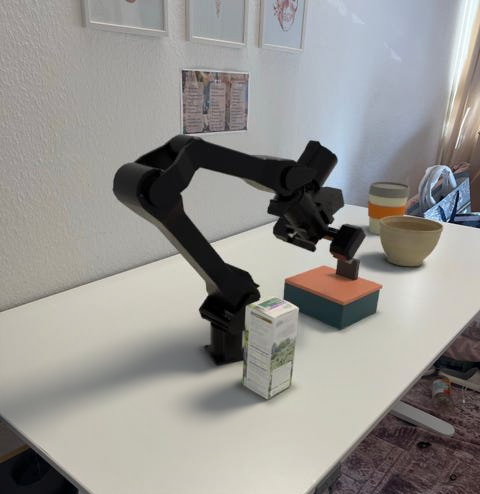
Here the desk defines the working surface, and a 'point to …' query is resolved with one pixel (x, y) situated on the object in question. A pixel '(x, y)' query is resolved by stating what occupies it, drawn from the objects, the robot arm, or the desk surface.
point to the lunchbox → (331, 307)
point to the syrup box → (269, 345)
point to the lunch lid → (335, 282)
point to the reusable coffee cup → (386, 202)
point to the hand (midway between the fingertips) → (332, 255)
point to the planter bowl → (409, 239)
